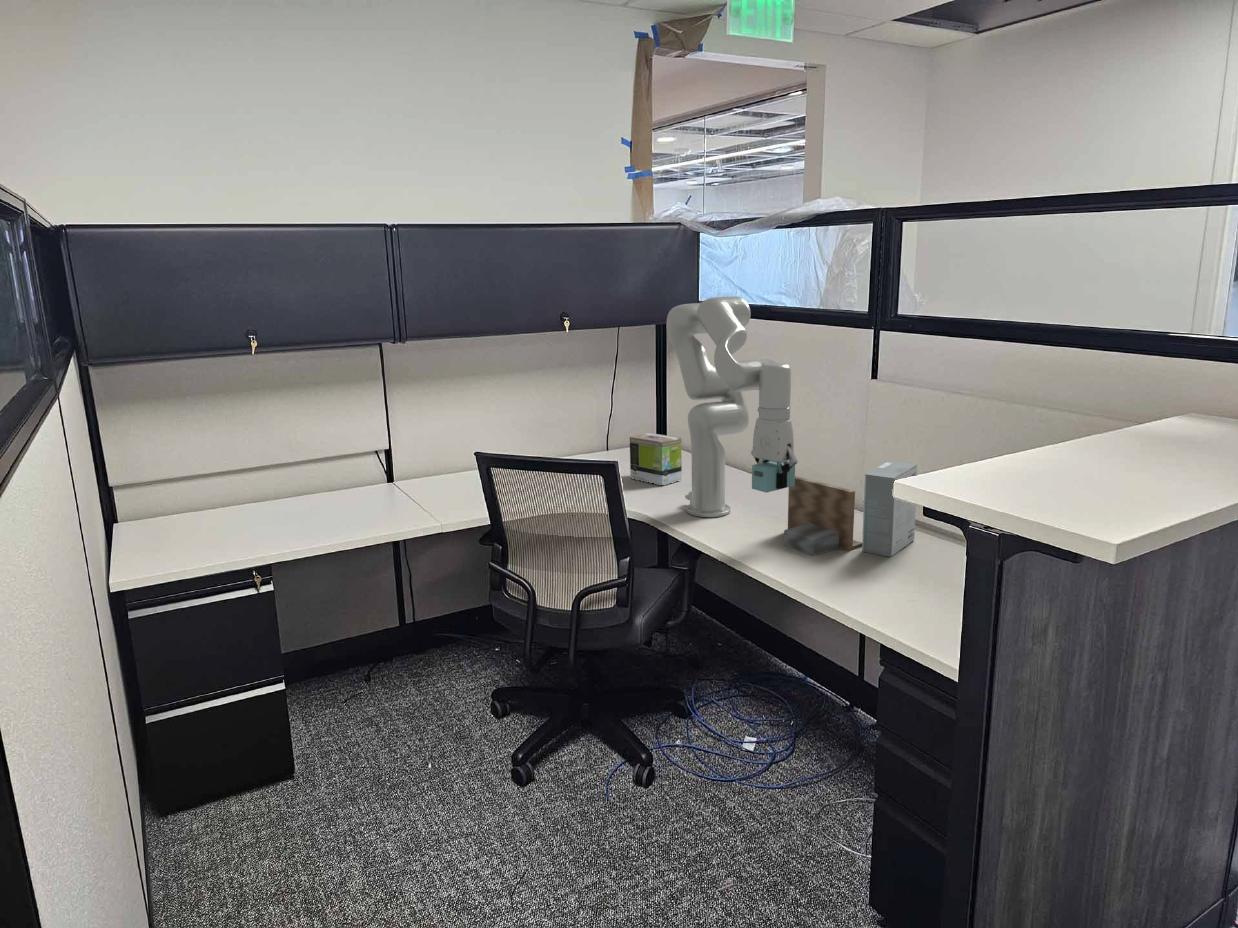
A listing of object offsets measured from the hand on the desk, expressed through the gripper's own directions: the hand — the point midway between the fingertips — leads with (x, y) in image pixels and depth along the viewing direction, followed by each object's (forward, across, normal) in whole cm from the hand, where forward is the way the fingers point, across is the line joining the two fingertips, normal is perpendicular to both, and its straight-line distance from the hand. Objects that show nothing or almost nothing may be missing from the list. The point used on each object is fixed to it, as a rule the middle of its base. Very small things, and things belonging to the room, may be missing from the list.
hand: (773, 485), depth 205 cm
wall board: (+15, +6, +9) cm, 19 cm away
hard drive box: (+16, +19, +21) cm, 33 cm away
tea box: (+15, -70, +17) cm, 73 cm away
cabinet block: (+1, 0, 0) cm, 1 cm away
